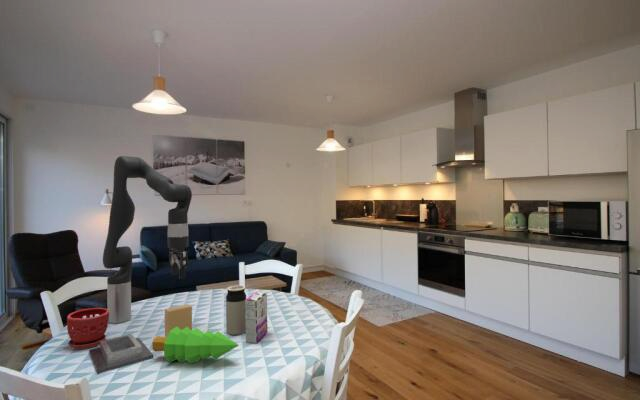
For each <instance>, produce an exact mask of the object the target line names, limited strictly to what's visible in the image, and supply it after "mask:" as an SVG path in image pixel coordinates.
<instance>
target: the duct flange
mask: <svg viewBox="0 0 640 400" xmlns="http://www.w3.org/2000/svg"><path fill="white" fill-rule="evenodd" d="M88 354H89V356H90V358H91V361H92V363H93V366H94V369H95V372H96V373H97V375H99V374H102V373H105V372H109V371H112V370H116V369H120V368H123V367H126V366H130V365H133V364H136V363H137V364H138V363H141V362H144V361H147V360H151V359H154V354H153V353H152V351H151V350H150V349H149V348H148V346H146V343H144V342H143V341H142V339H141V338H140V337H135V336H134V335H133V334H132V333H129V334H125V335H120V336H117V337H116V336H115V337H111V338H109V339H105V340H103V341H100V344H99V347H96V348H91V349H88Z"/></svg>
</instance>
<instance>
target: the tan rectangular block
mask: <svg viewBox="0 0 640 400" xmlns="http://www.w3.org/2000/svg"><path fill="white" fill-rule="evenodd" d="M175 327H178V328H179V329H181V330H183V329H185V328H186V327H188V328H189V329H190V330H191V331H192V330H193V306H192V305H191V304H185V305H178V306H173V307H170V308H164V337H167V336H168V333H169V331H171V330H172V329H174V328H175Z"/></svg>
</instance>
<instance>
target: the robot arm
mask: <svg viewBox="0 0 640 400" xmlns="http://www.w3.org/2000/svg"><path fill="white" fill-rule="evenodd" d="M138 178H140V179H143V180H145V182H146V184H147V185H148V187H149V188H150V189H152V190H153V191H154V192H156V193H158V194H159V195H160V196H161V198H162V199H163V200H164V201H166V202H169V203H177V204H176V206H175V207H174V208H171V209H169V210H168V213H167V219H168V220H167V248H169V255H168V259H169V260H168V261H169V264H170V266H171V276H178V279H180V280H182V279H185V278H186V268H189V256H188V255H189V253H188V251H185V248H187V247H189V226H188V220H189V218H188V213H189V210H190V204H191V202H192V196H193V194H192V189H191V188H190V186H188V185H187V184H176V183H175V182H174V181H173V180H172V179H171V178H169V177H167V176H165V175H163V174H162V173H159V172H158V171H157V170H156V169H154V168H153V167H152V165H150V164H149V163H147V161H145V160H144V159H142V157H139V156H126V155H120V156H118V157H117V158H116V159H115V161H114V167H113V189H112V190H113V191H112V199H111V205H110V211H109V221H108V229H107V237H106V240H105V245H104V249H103V254H102V264H103V267H104V269H116V268H117V269H118V268H119V269H118V270H117V271H116V272H114V273H113V274H111V275H109V276H108V277H107V280H106V281H107V283H106V284H107V291H106V292H107V296H106V297H107V303H106V304H107V308H106V309H108V310H109V321H108V324H120V323H124V322H128V321H130V320H131V319H132V275H133V273H132V271H133V250H132V249H131V248H130V247H129V246H127V245H126V246H125V245H123V246H118V244H119V241H120V239H121V238H122V237H123V235H124V234H125V233H126V232H127V231H128V230H129V228H130V227H131V225H132V224H133V221H134V219H135V212H136V206H135V203H134V201H133V199H132V197H131V196H130V194H129V191H128V188H127V187H128V186H127V185H128V184H127V182H128V179H138Z"/></svg>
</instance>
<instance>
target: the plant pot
mask: <svg viewBox="0 0 640 400" xmlns="http://www.w3.org/2000/svg"><path fill="white" fill-rule="evenodd" d="M83 317H84V318H83ZM108 321H109V310H108V308H105V307H104V308H103V307H93V308H92V307H91V308H84V309H78V310H76V311H74V312H71V313H69V314H68V315H67V318H66V328H67V334H68V337H69V339H70V340H69V341H68V346H69V347H70V348H72V349H77V350H82V349H84V350H85V349H89V348H93V347H96V346H98V345H100V341H103V340H106V338H107V335H106V331H108V330H107V329H108V326H109V323H108Z"/></svg>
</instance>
